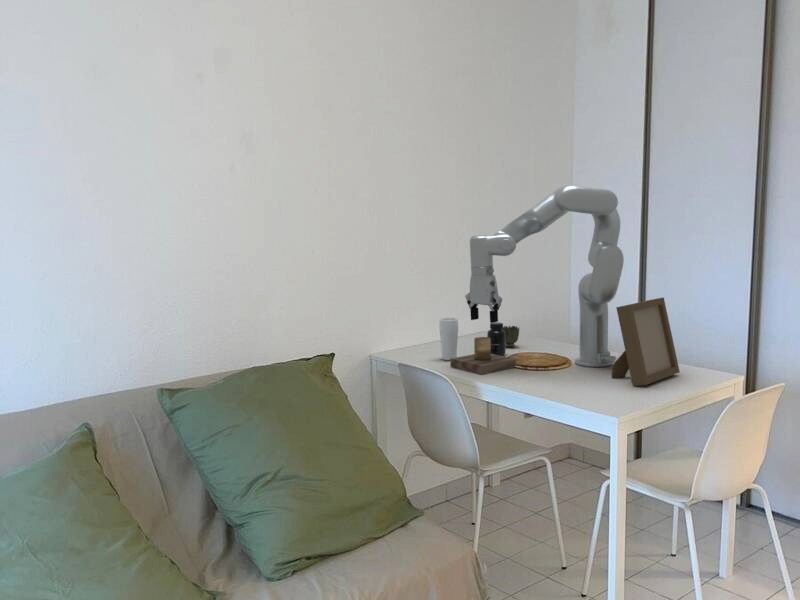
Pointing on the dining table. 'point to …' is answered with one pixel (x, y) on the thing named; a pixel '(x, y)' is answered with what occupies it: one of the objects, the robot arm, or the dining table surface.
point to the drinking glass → (449, 337)
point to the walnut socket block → (483, 364)
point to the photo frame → (646, 343)
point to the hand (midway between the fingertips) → (484, 320)
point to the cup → (511, 335)
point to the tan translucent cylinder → (482, 348)
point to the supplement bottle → (497, 338)
